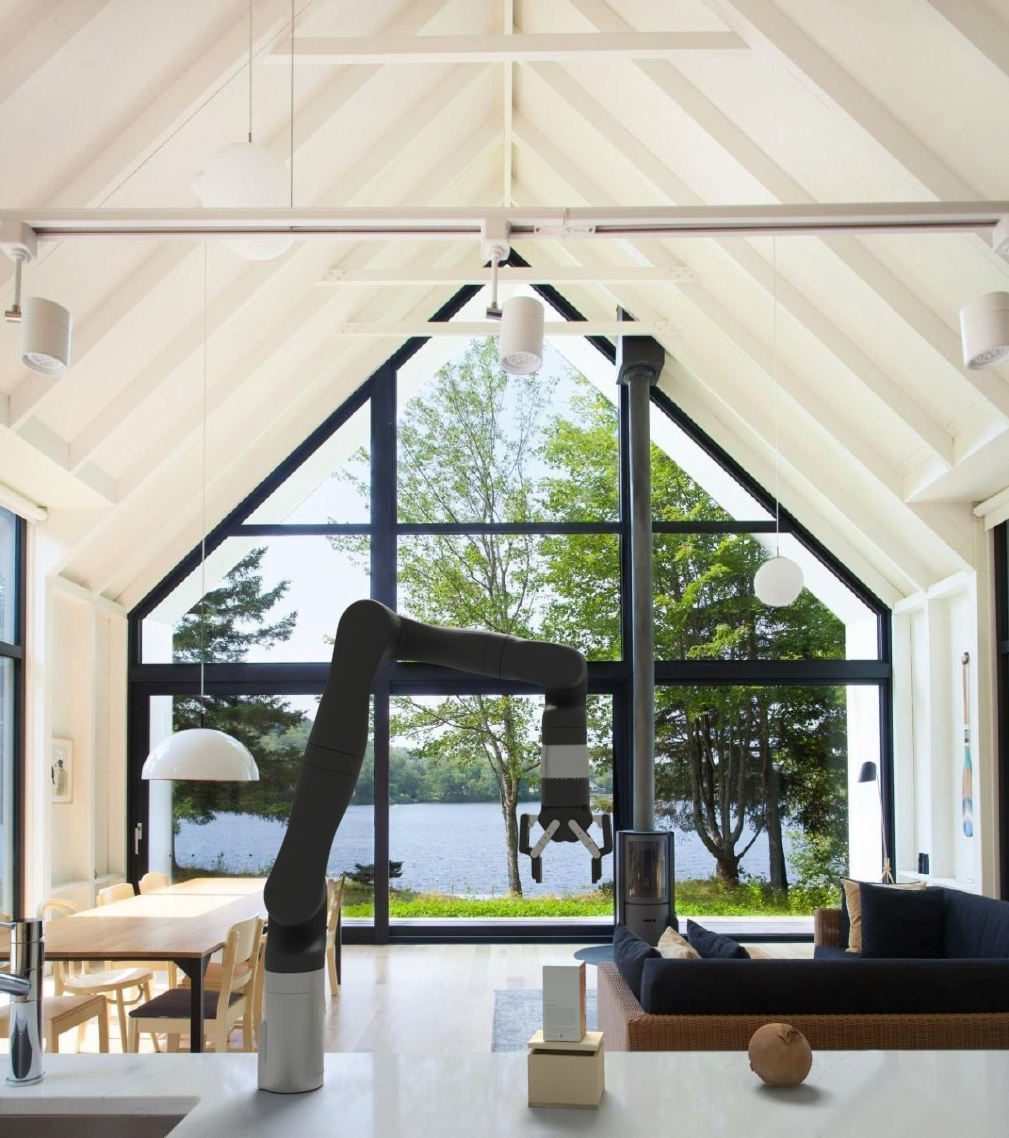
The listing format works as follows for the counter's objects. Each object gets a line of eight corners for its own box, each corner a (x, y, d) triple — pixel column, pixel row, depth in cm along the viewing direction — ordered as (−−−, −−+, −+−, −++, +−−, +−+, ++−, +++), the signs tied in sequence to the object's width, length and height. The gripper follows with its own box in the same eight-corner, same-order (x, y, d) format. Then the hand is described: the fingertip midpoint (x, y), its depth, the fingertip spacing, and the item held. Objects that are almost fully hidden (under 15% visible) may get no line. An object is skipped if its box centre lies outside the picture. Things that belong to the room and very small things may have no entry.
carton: (528, 1106, 170) (527, 1055, 171) (538, 1086, 180) (538, 1037, 181) (598, 1109, 168) (597, 1057, 169) (604, 1088, 178) (603, 1039, 179)
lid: (527, 1048, 171) (527, 1042, 171) (537, 1034, 181) (537, 1029, 181) (597, 1050, 169) (596, 1045, 170) (603, 1037, 179) (603, 1031, 179)
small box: (580, 1043, 171) (580, 966, 173) (542, 1041, 172) (541, 965, 174) (587, 1033, 179) (586, 959, 181) (550, 1031, 180) (550, 958, 182)
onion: (804, 1111, 176) (823, 1055, 174) (741, 1092, 177) (760, 1036, 175) (799, 1070, 185) (817, 1016, 183) (739, 1053, 186) (757, 998, 184)
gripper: (613, 773, 186) (615, 880, 184) (523, 774, 188) (524, 879, 186) (608, 775, 178) (611, 887, 176) (515, 775, 181) (516, 885, 179)
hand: (566, 883), depth 181 cm, fingers open, 8 cm apart
